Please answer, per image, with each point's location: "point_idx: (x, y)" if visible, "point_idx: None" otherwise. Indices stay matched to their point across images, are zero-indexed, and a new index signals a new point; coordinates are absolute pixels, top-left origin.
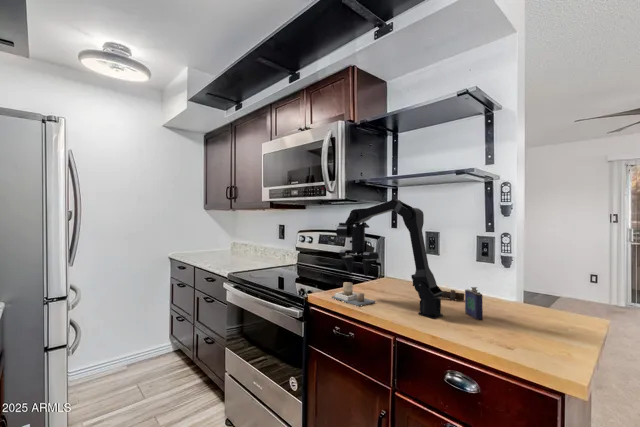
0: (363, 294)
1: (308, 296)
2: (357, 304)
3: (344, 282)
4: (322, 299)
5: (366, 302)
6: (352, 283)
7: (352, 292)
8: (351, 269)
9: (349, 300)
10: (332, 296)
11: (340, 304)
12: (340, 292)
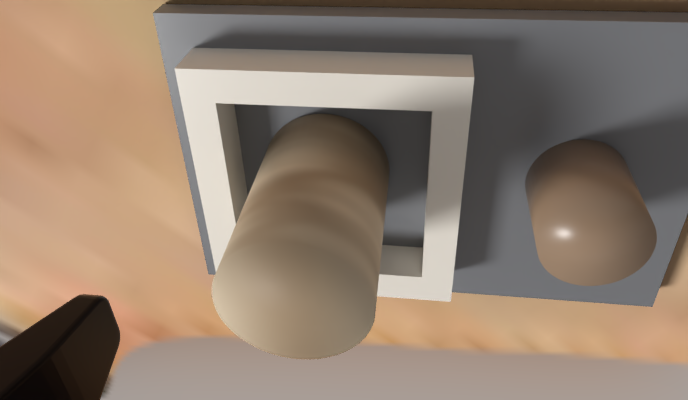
0: (654, 243)
1: None
2: (643, 305)
3: (218, 310)
4: (213, 335)
5: (684, 178)
6: (349, 269)
7: (368, 174)
8: (58, 381)
9: (463, 257)
10: (213, 269)
11: (455, 339)
12: (215, 219)
